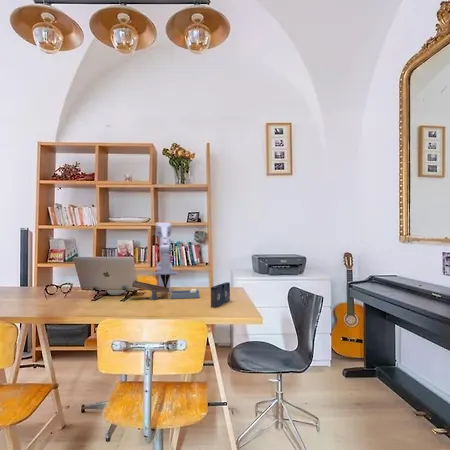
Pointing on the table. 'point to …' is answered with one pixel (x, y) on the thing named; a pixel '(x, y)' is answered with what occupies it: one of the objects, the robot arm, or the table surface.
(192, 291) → the ball
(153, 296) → the lever stand
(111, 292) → the teacup
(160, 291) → the lever
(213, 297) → the vhs cassette tape
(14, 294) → the table surface
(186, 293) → the bin
